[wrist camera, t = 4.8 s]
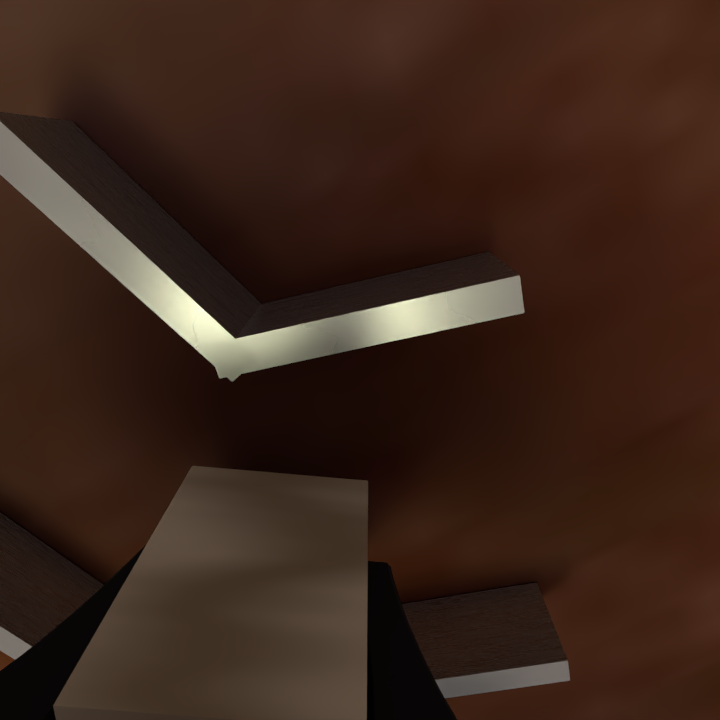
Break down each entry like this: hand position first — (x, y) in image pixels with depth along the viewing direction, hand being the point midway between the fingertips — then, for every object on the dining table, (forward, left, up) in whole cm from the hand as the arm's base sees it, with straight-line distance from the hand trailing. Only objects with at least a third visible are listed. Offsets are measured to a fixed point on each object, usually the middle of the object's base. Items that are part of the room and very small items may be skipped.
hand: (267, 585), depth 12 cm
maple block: (0, 0, -1) cm, 1 cm away
